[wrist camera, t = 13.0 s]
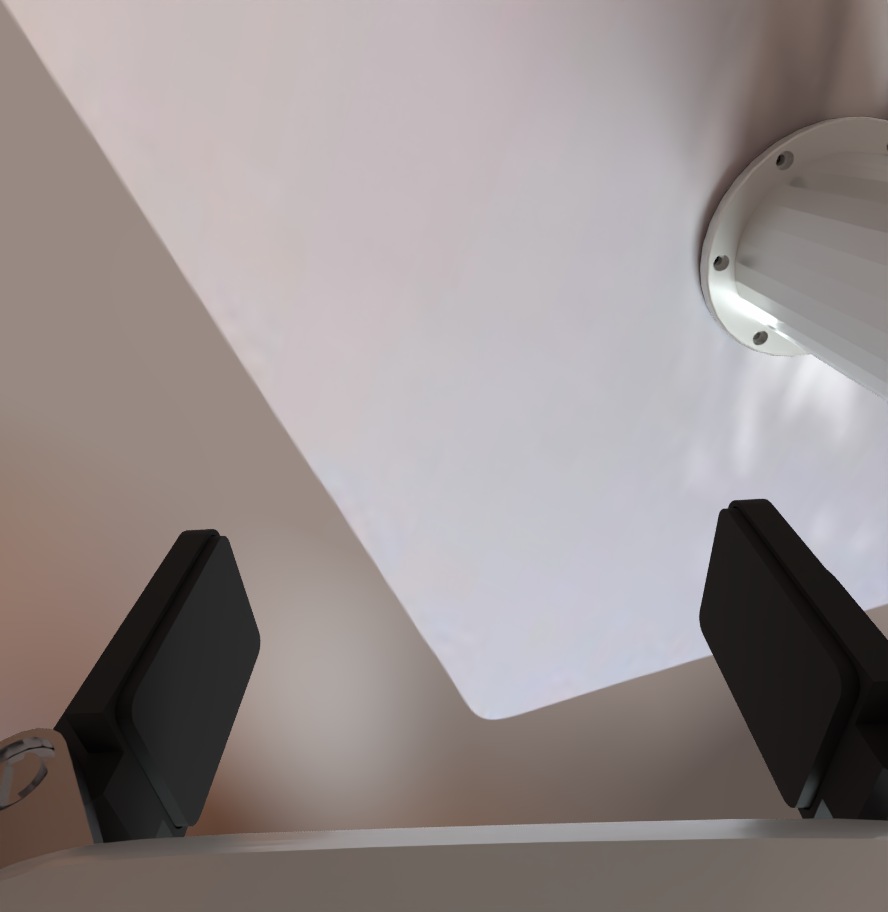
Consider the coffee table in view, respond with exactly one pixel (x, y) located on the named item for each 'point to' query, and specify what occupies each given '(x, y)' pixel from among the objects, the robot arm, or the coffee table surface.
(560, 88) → the coffee table surface
